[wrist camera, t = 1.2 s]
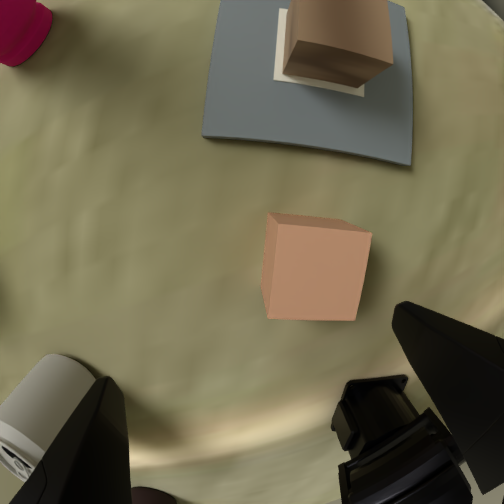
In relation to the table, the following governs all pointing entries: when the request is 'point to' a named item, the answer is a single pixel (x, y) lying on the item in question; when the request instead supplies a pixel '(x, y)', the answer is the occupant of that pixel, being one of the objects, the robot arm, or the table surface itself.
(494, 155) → the table surface
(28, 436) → the can
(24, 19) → the pepper mill
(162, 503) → the wine bottle
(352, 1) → the walnut base block
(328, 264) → the terracotta block
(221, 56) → the grey square plate
